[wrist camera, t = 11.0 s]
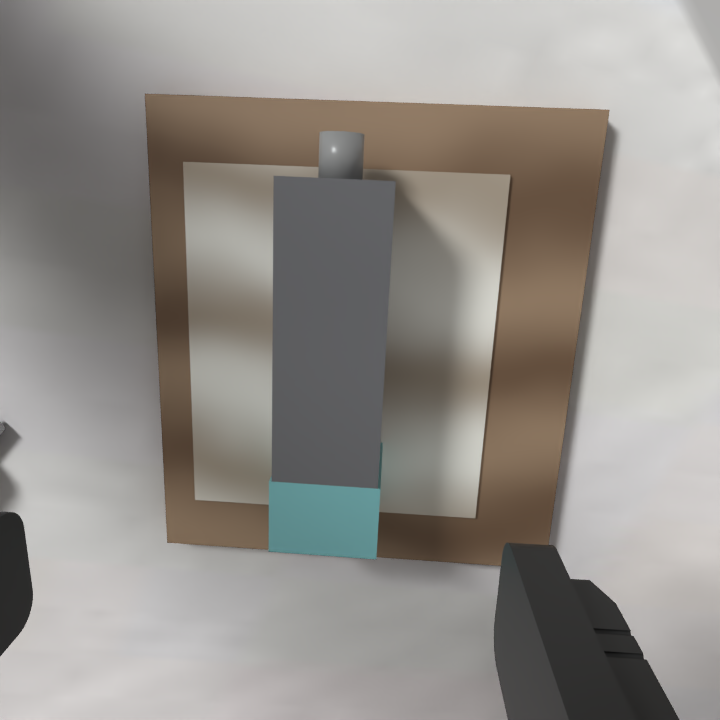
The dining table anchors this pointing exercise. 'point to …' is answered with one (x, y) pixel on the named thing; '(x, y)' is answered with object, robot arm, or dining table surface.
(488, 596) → the dining table surface
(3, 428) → the mobile phone
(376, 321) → the marker
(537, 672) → the robot arm
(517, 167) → the writing board
